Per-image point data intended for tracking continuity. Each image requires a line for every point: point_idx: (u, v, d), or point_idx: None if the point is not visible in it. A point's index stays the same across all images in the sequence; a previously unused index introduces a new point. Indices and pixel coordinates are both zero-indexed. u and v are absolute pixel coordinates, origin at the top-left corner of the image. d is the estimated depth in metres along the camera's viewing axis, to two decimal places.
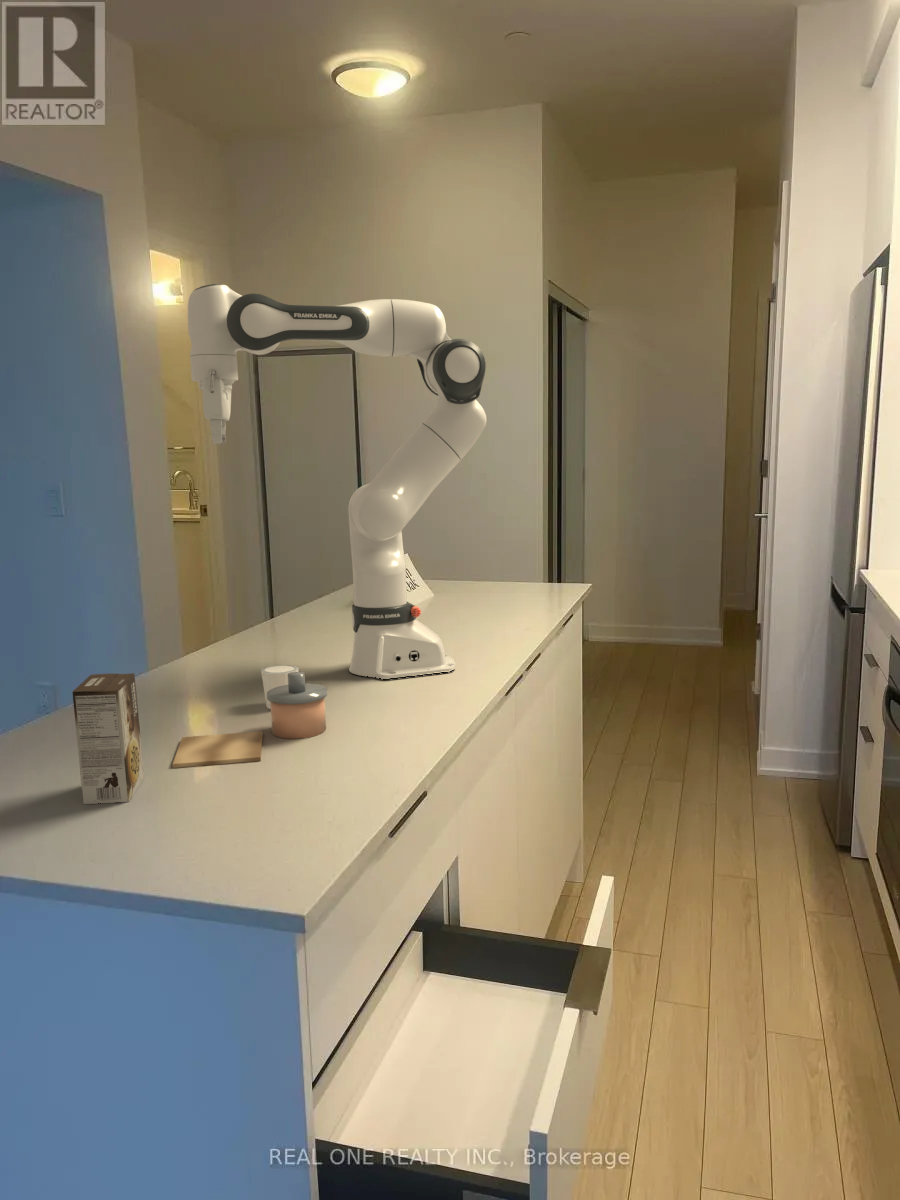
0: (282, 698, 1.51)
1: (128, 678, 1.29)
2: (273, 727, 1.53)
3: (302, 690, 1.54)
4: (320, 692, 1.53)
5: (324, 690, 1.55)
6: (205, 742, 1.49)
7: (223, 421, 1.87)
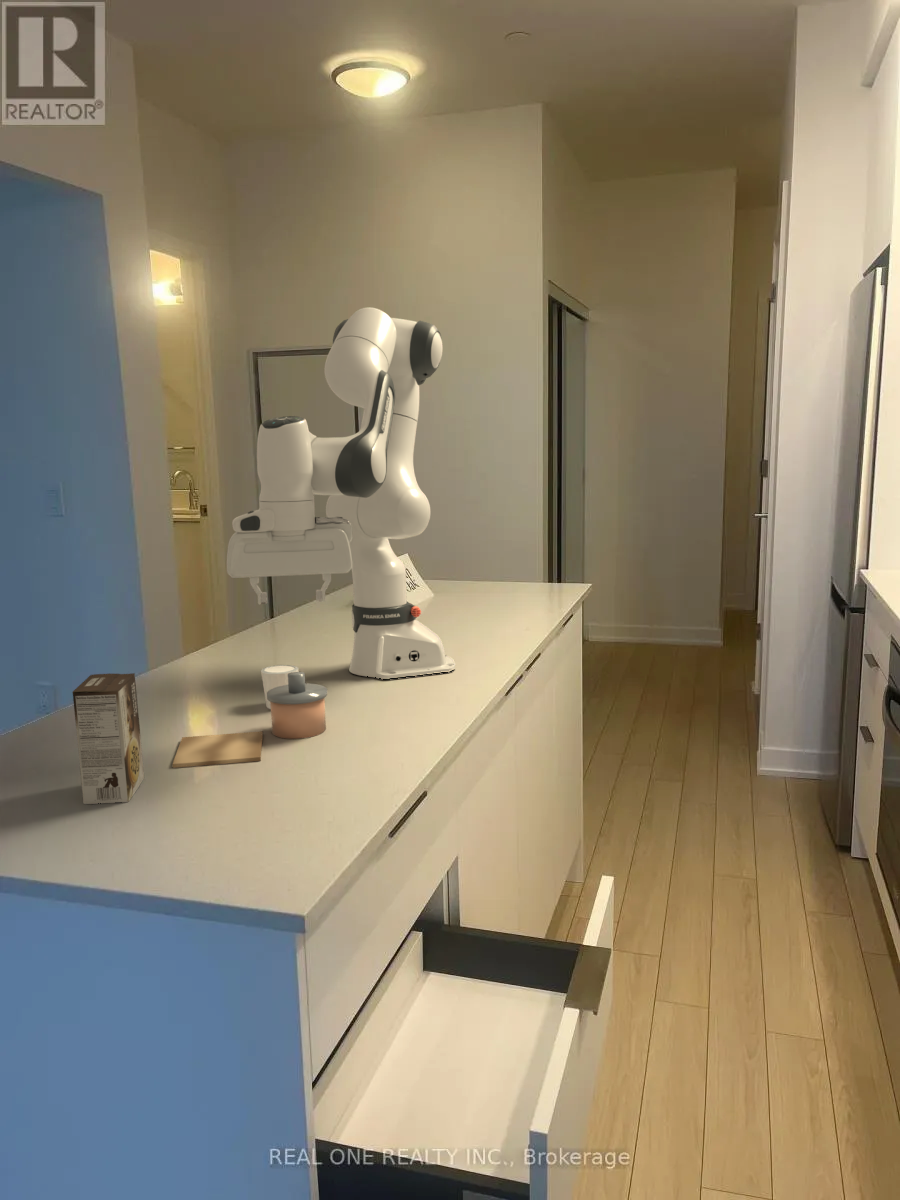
0: (282, 698, 1.51)
1: (128, 678, 1.29)
2: (273, 727, 1.53)
3: (302, 690, 1.54)
4: (320, 692, 1.53)
5: (324, 690, 1.55)
6: (205, 742, 1.49)
7: None
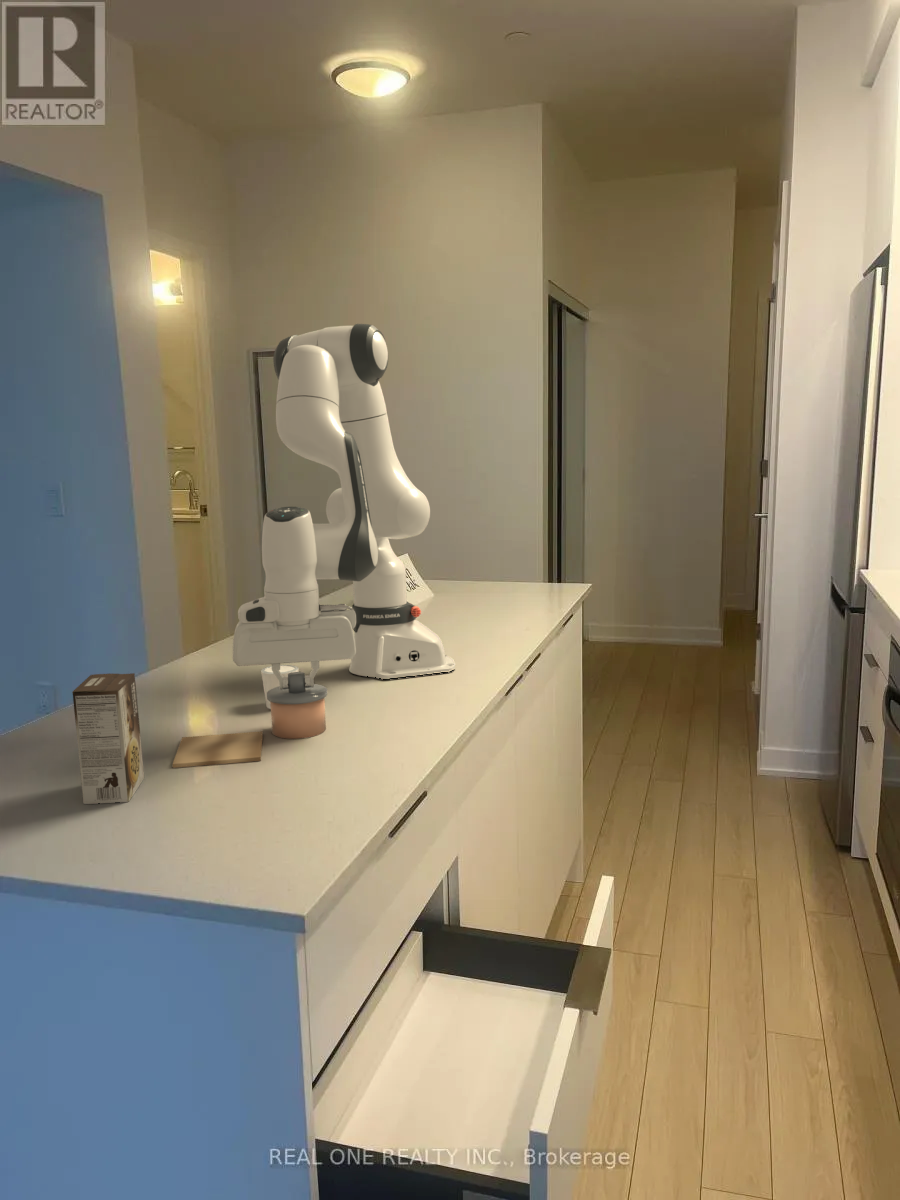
0: (282, 698, 1.51)
1: (128, 678, 1.29)
2: (273, 727, 1.53)
3: (302, 690, 1.54)
4: (320, 692, 1.53)
5: (324, 690, 1.55)
6: (205, 742, 1.49)
7: None
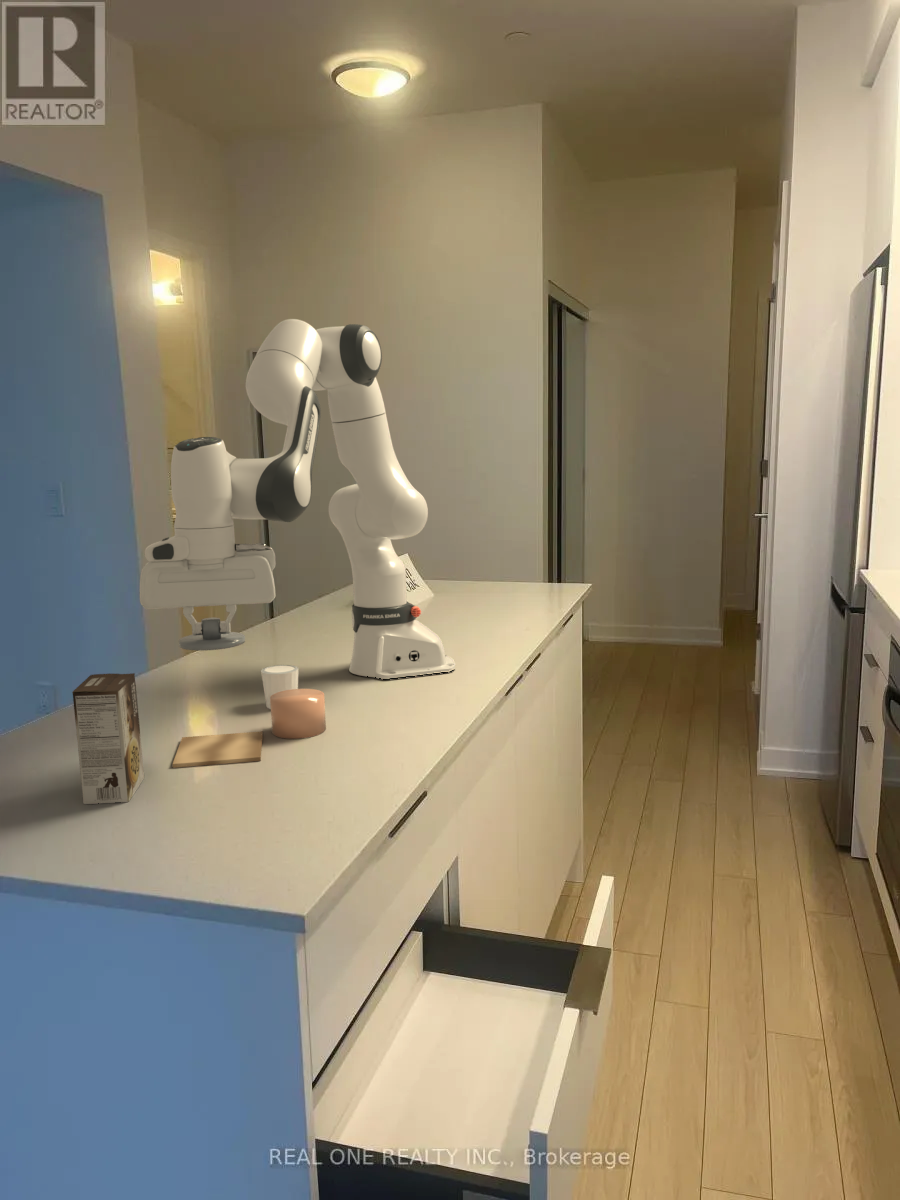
0: (193, 644, 1.39)
1: (128, 678, 1.29)
2: (273, 727, 1.53)
3: (217, 637, 1.42)
4: (236, 639, 1.42)
5: (241, 637, 1.43)
6: (205, 742, 1.49)
7: None
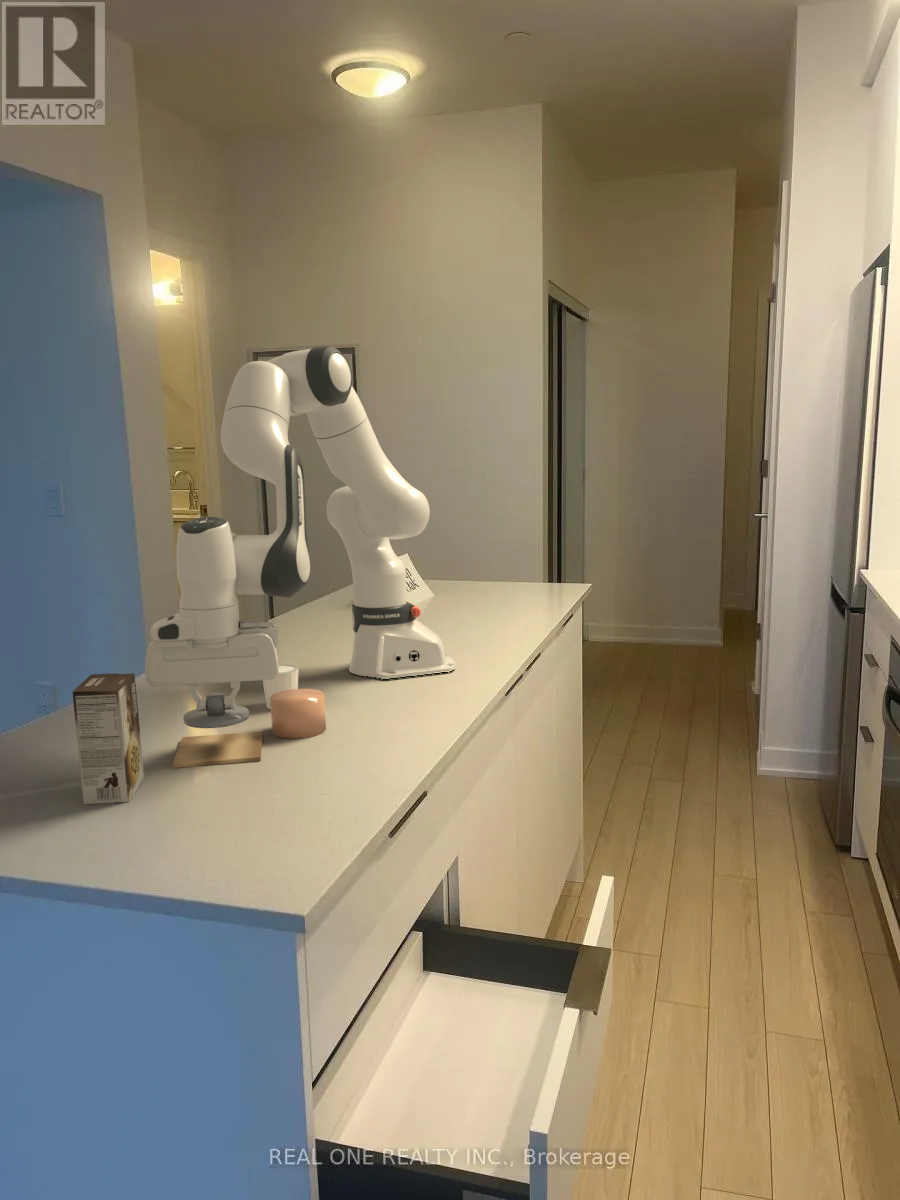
0: (198, 721, 1.41)
1: (128, 678, 1.29)
2: (273, 727, 1.53)
3: (221, 713, 1.45)
4: (240, 715, 1.44)
5: (245, 713, 1.45)
6: (205, 742, 1.49)
7: None
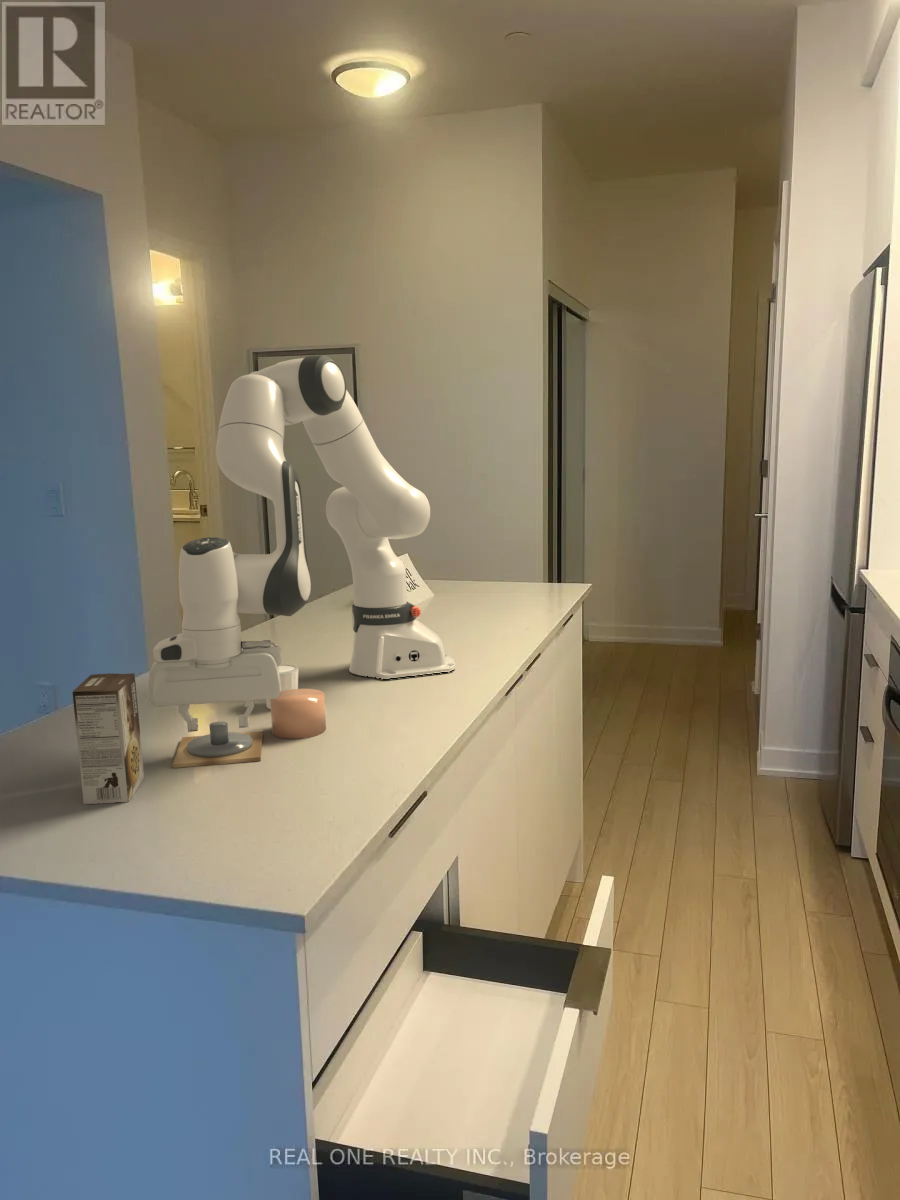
0: (202, 751, 1.42)
1: (128, 678, 1.29)
2: (273, 727, 1.53)
3: (225, 741, 1.45)
4: (243, 744, 1.45)
5: (248, 741, 1.46)
6: None
7: None
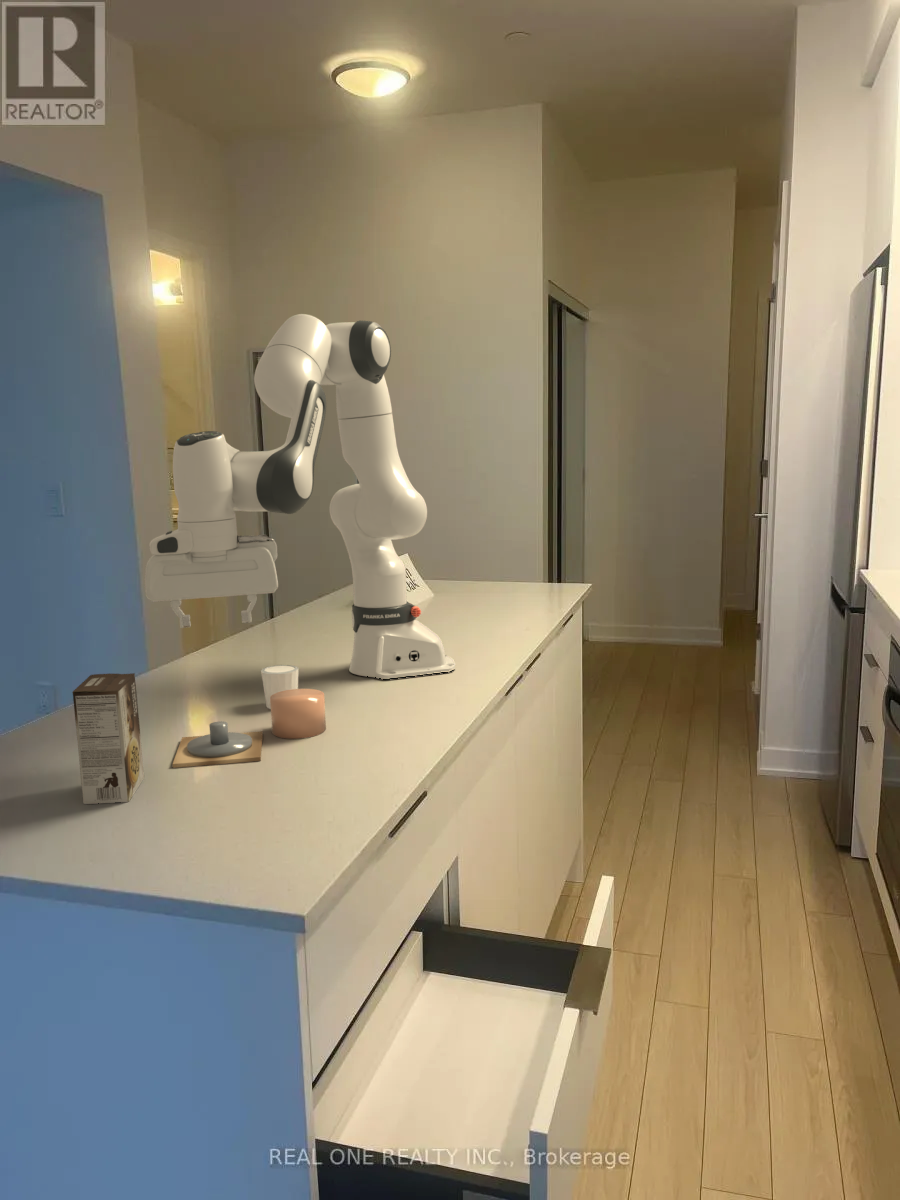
0: (202, 751, 1.42)
1: (128, 678, 1.29)
2: (273, 727, 1.53)
3: (225, 741, 1.45)
4: (243, 744, 1.45)
5: (248, 741, 1.46)
6: None
7: None
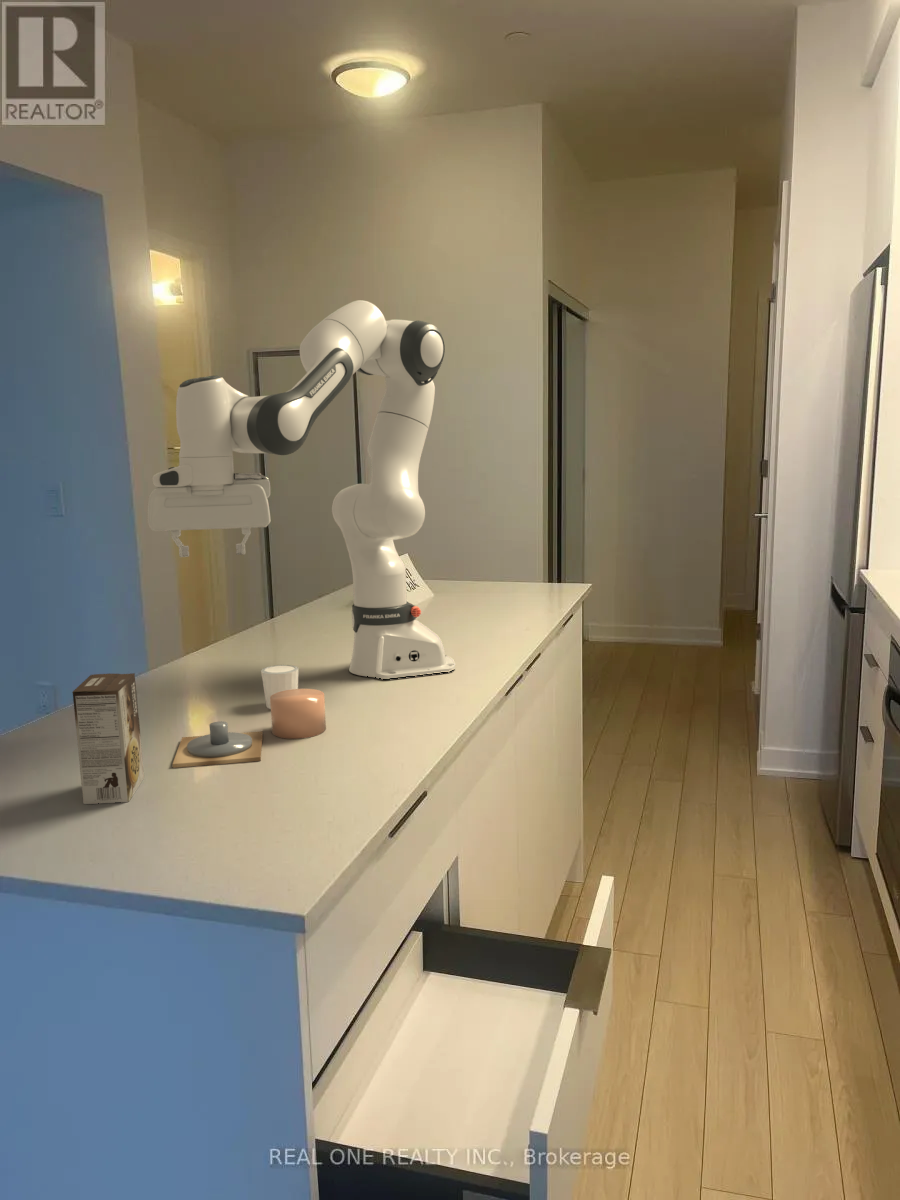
0: (202, 751, 1.42)
1: (128, 678, 1.29)
2: (273, 727, 1.53)
3: (225, 741, 1.45)
4: (243, 744, 1.45)
5: (248, 741, 1.46)
6: None
7: (180, 530, 1.58)
